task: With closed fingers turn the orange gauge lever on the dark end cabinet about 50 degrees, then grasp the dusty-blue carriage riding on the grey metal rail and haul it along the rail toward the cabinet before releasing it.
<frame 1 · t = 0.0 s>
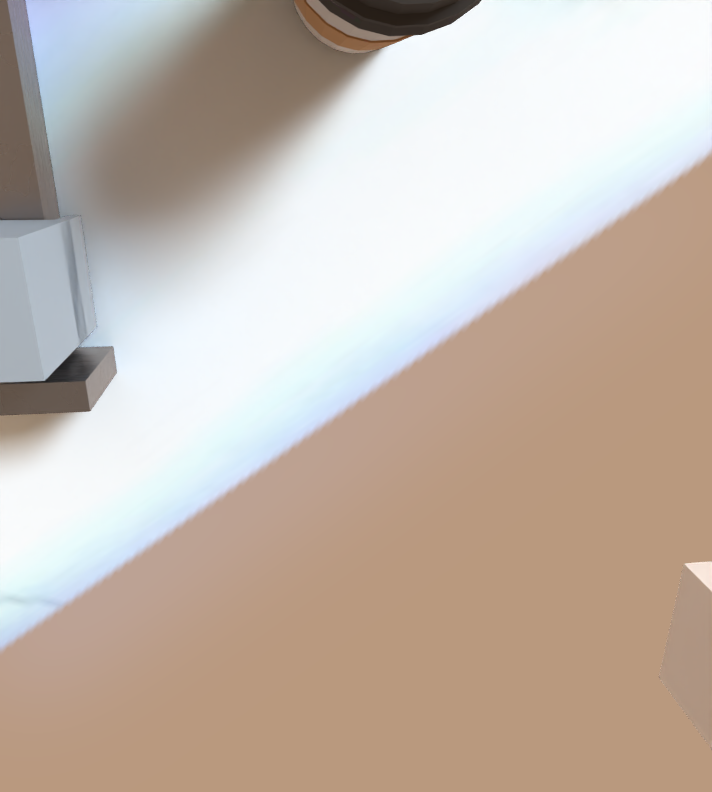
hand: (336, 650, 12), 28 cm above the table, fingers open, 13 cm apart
square post base: (61, 361, 37), on the table
rail: (27, 164, 33), on the table
carriage: (9, 291, 30), point 5 cm above the table, slide at 5.5 cm
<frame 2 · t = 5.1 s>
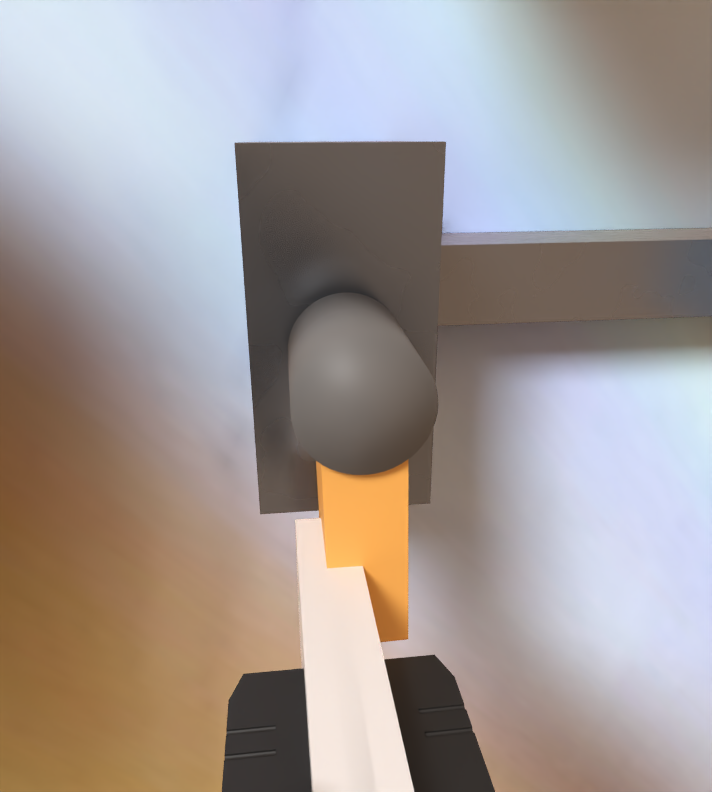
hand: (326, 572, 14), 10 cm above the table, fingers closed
gauge lever: (357, 467, 13), point 10 cm above the table, hinge at 1.4°, touching gripper
end cabinet: (321, 273, 21), on the table
rail: (667, 264, 22), on the table
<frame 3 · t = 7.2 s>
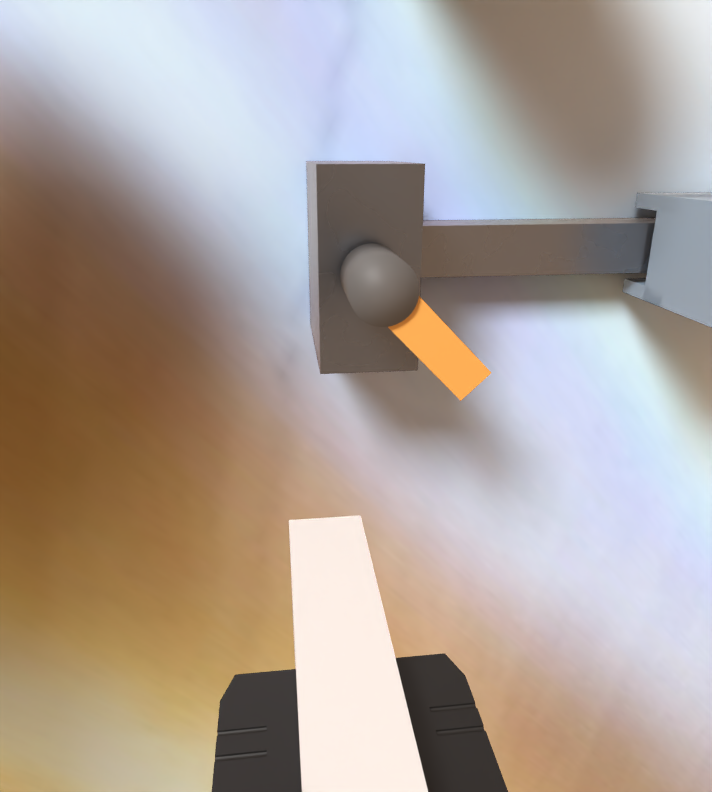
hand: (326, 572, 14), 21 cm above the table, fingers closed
gauge lever: (412, 319, 24), point 10 cm above the table, hinge at 44.0°
end cabinet: (348, 245, 32), on the table
rail: (576, 242, 34), on the table
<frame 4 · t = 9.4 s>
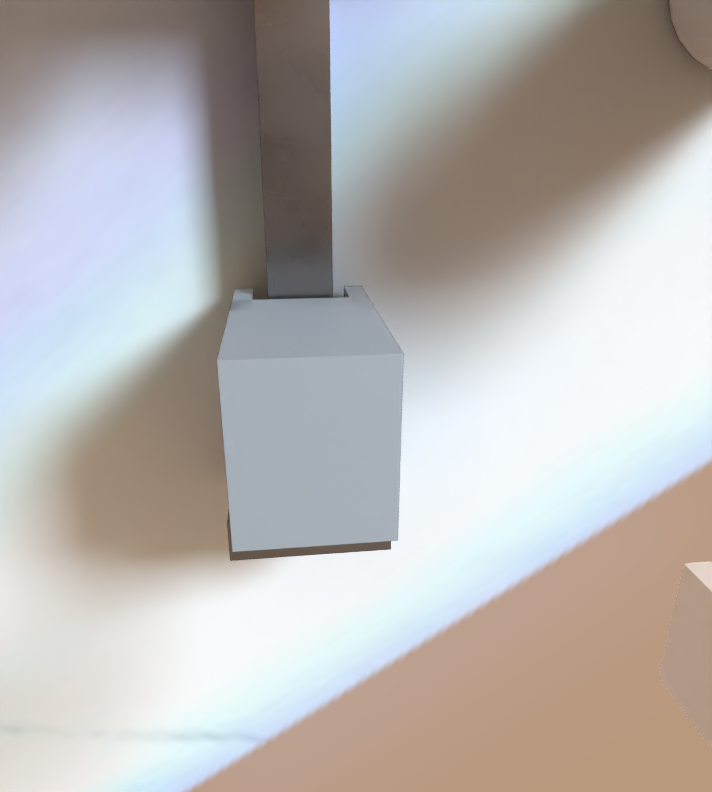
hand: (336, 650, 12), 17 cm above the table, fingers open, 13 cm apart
square post base: (303, 462, 29), on the table
rail: (296, 220, 25), on the table
carriage: (306, 399, 22), point 5 cm above the table, slide at 5.5 cm
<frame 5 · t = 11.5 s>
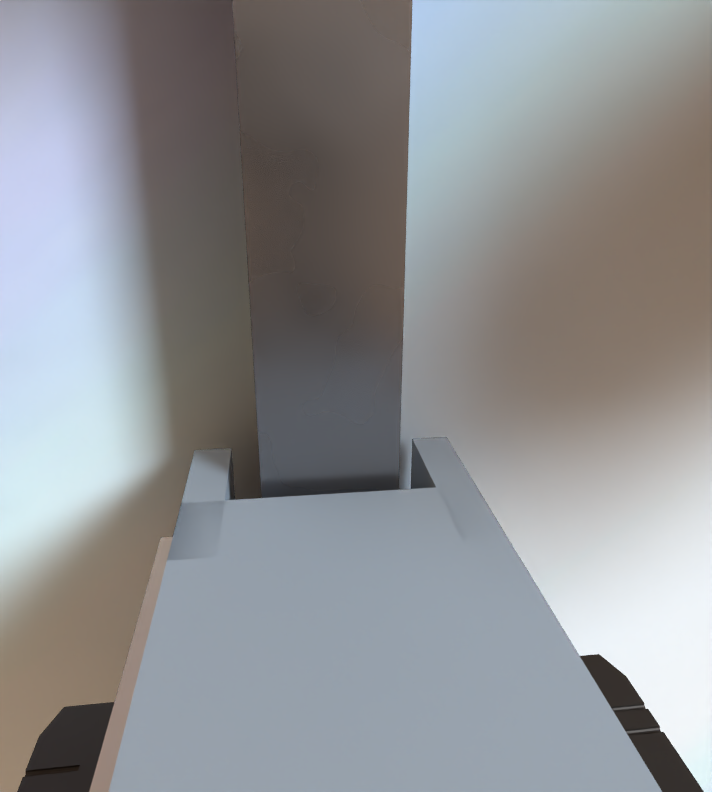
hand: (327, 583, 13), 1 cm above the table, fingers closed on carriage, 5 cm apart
rail: (318, 310, 13), on the table
carriage: (349, 751, 10), point 5 cm above the table, slide at 5.5 cm, touching gripper
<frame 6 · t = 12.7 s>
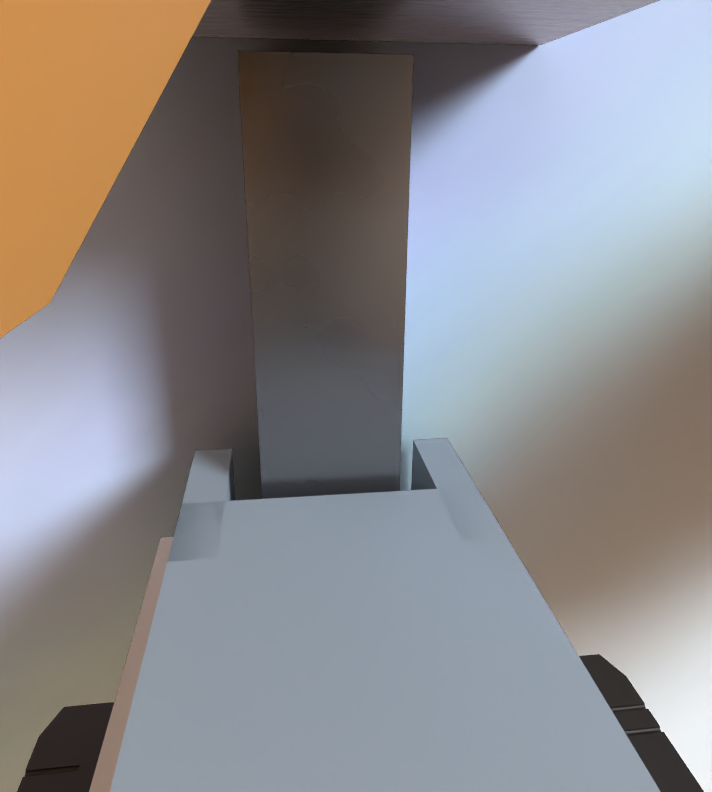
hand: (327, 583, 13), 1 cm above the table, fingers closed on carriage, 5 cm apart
rail: (323, 541, 14), on the table
carriage: (349, 753, 10), point 5 cm above the table, slide at 0.2 cm, touching gripper
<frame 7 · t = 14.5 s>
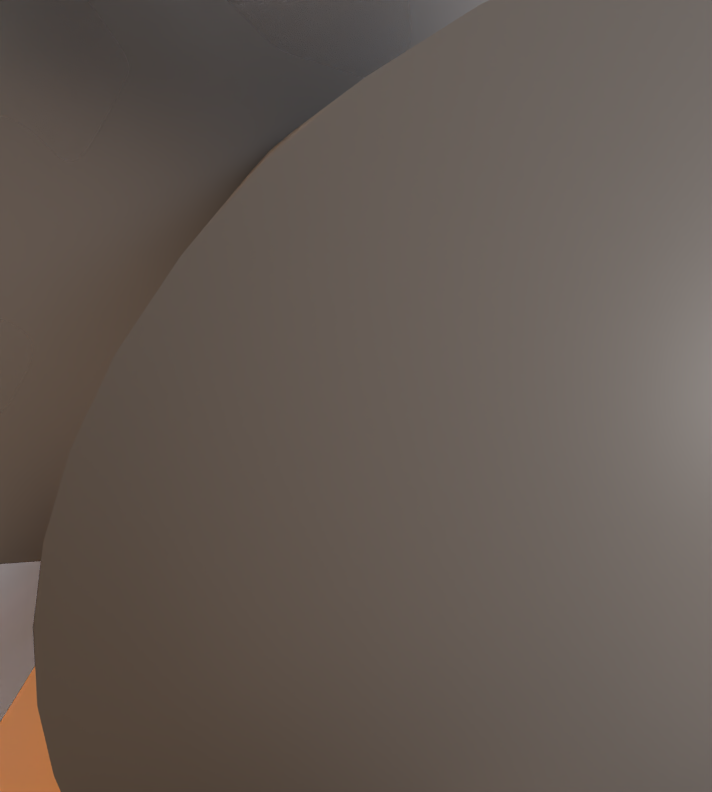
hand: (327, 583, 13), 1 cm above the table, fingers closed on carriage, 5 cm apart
gauge lever: (239, 696, 3), point 10 cm above the table, hinge at 56.4°, touching carriage
end cabinet: (315, 201, 12), on the table
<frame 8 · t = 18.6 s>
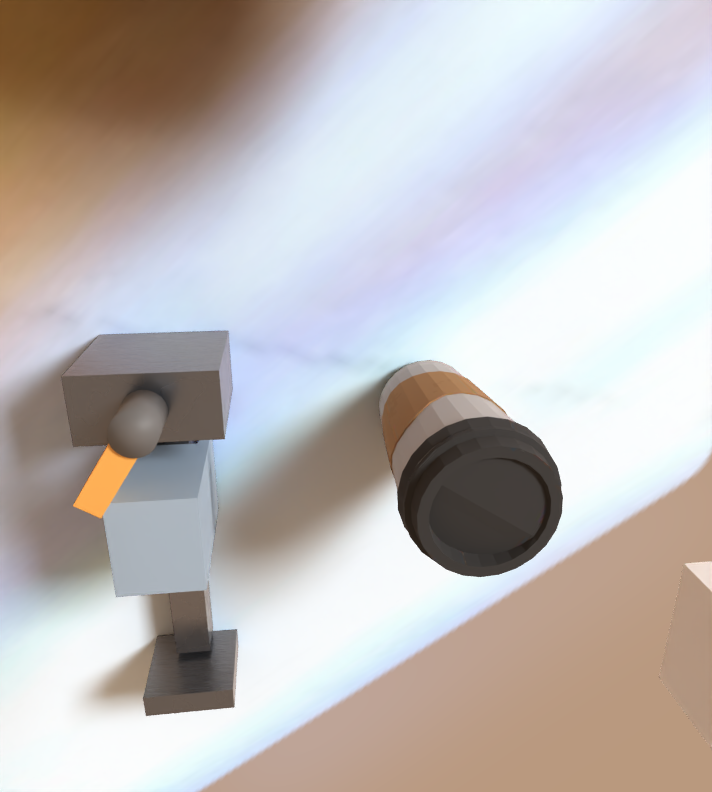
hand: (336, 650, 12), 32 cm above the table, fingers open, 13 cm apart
square post base: (198, 640, 50), on the table
coffee cup: (422, 399, 45), on the table
gauge lever: (121, 452, 33), point 10 cm above the table, hinge at 56.4°, touching carriage
end cabinet: (167, 362, 42), on the table
rail: (185, 522, 46), on the table
carriage: (168, 506, 39), point 5 cm above the table, slide at -4.4 cm, touching gauge lever
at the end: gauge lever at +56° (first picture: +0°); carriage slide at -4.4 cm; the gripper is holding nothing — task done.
